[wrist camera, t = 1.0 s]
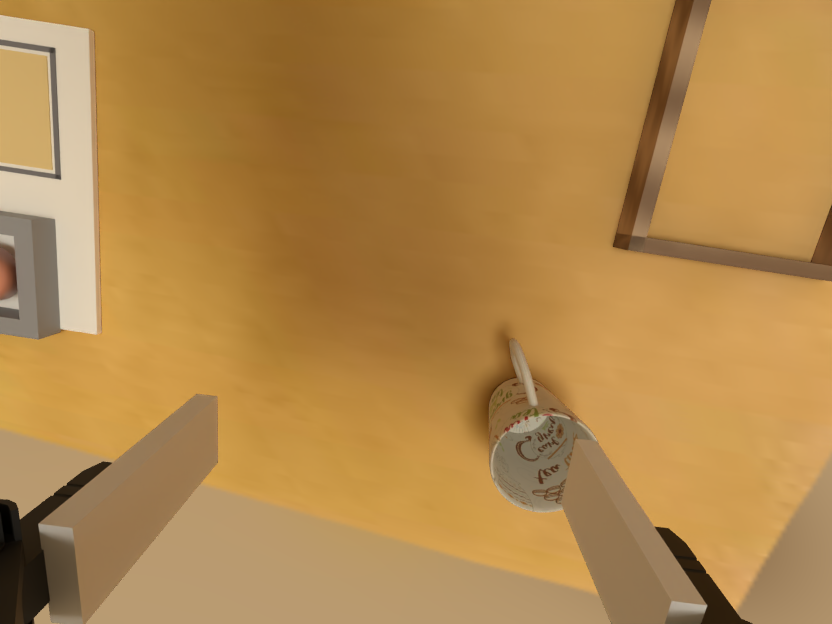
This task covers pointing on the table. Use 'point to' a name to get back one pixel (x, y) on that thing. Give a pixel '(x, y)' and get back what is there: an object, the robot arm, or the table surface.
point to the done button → (7, 275)
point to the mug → (531, 440)
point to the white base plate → (49, 178)
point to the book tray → (654, 154)
